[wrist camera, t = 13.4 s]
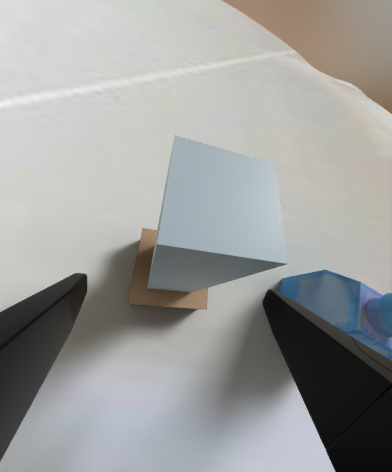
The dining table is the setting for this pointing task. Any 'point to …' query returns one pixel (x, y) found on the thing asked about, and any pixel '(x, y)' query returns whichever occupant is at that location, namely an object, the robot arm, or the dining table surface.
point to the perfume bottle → (345, 306)
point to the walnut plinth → (156, 296)
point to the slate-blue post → (216, 219)
